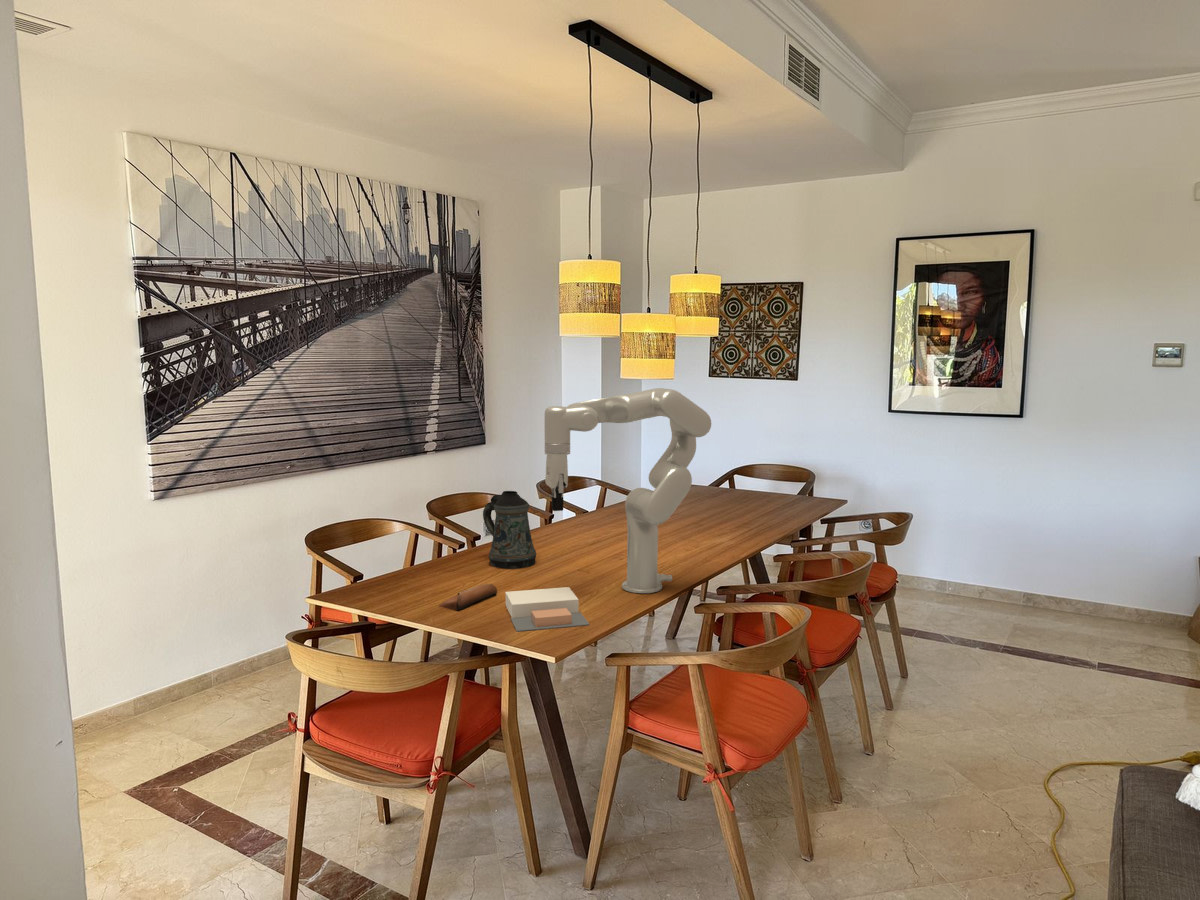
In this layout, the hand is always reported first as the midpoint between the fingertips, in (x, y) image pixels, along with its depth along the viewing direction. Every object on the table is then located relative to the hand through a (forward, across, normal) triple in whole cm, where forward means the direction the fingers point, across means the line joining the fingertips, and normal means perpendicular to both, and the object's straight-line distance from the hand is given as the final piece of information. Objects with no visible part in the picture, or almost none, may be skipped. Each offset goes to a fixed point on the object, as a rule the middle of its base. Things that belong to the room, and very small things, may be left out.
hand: (557, 510), depth 240 cm
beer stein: (+27, -43, -8) cm, 52 cm away
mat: (+27, +20, -6) cm, 34 cm away
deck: (+27, +8, -6) cm, 29 cm away
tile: (+26, +20, -6) cm, 33 cm away
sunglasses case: (+28, -5, -26) cm, 38 cm away
